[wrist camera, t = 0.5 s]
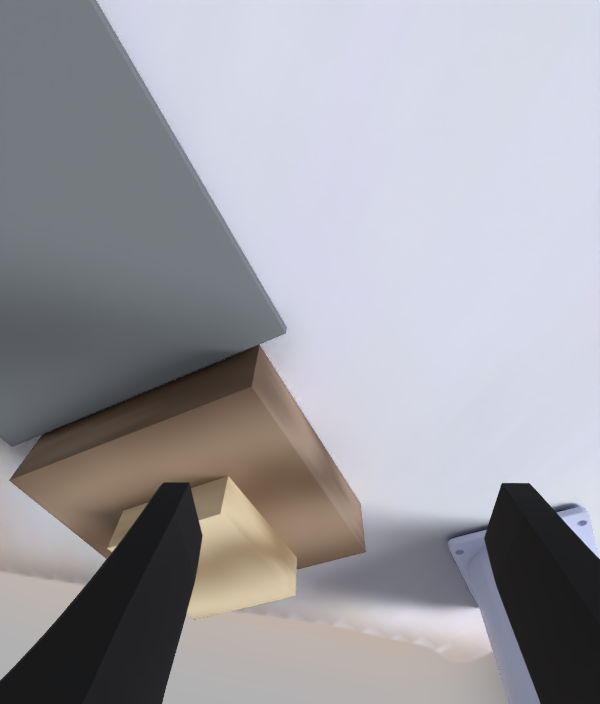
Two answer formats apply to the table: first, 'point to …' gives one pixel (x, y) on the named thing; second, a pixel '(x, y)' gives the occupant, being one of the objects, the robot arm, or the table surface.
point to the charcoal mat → (102, 231)
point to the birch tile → (231, 552)
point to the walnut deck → (200, 459)
